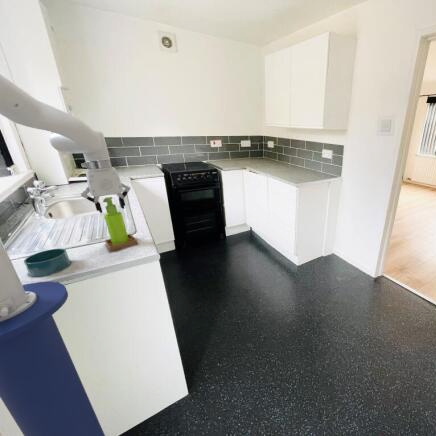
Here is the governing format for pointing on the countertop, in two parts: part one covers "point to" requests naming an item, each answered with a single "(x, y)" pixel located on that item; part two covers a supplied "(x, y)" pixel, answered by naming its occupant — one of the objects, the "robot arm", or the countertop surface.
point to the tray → (112, 248)
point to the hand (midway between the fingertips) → (112, 209)
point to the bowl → (47, 262)
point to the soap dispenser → (115, 223)
